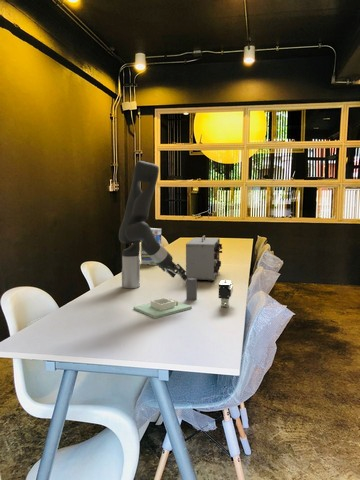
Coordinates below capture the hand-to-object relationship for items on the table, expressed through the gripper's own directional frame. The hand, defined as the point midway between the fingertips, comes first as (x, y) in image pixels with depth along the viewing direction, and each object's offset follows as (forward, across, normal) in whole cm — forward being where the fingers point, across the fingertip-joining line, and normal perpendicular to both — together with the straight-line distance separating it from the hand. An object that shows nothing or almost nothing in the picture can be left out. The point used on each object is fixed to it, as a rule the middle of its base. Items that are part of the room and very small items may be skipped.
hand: (180, 277), depth 172 cm
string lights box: (+40, +86, -24) cm, 98 cm away
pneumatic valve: (+17, -18, 0) cm, 25 cm away
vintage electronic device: (+42, +31, -25) cm, 58 cm away
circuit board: (0, -3, +17) cm, 17 cm away
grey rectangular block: (+14, 0, +3) cm, 14 cm away
